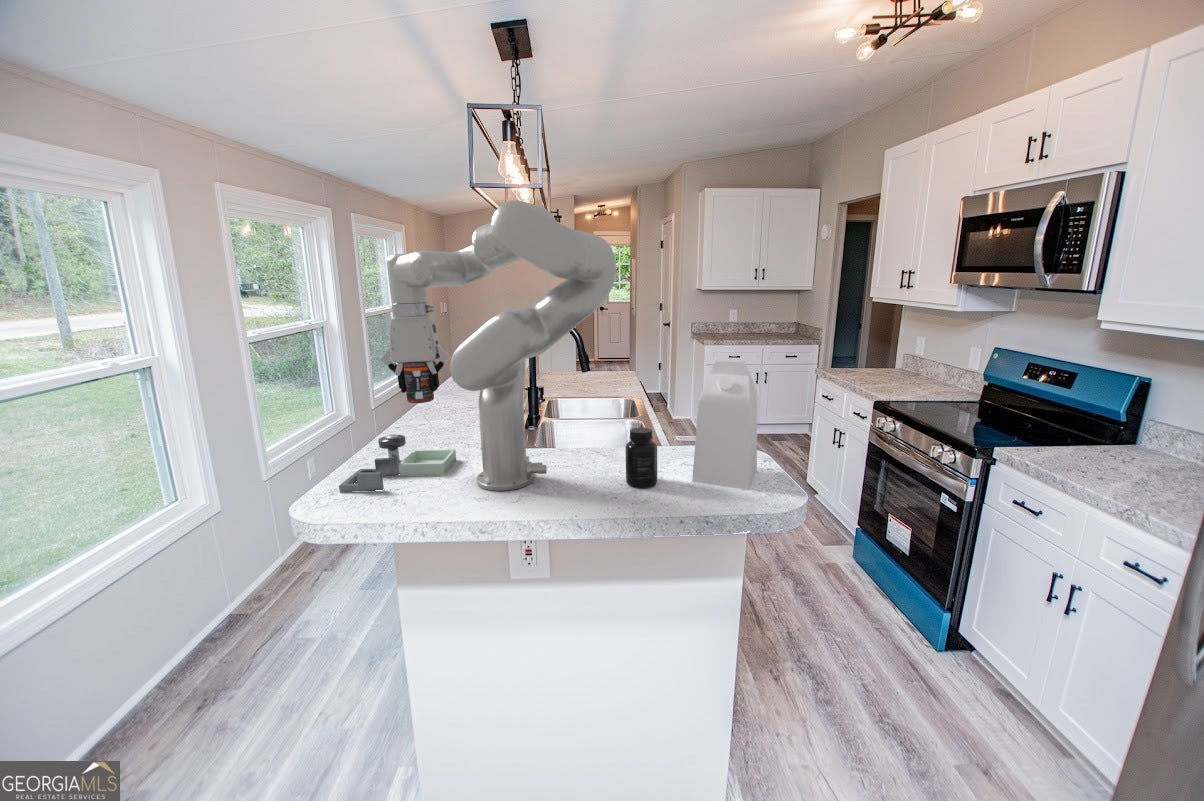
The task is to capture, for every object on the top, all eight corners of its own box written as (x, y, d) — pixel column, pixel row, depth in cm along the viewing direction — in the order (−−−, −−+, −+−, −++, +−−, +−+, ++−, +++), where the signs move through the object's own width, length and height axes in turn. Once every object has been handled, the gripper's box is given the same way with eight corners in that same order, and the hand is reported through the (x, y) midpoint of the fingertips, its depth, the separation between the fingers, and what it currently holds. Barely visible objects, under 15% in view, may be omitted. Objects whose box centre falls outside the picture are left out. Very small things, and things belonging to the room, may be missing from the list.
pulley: (411, 461, 126) (408, 432, 124) (402, 469, 120) (399, 439, 118) (387, 461, 126) (384, 432, 124) (377, 470, 120) (373, 440, 118)
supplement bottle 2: (661, 479, 111) (662, 427, 109) (651, 491, 105) (651, 436, 103) (632, 475, 114) (632, 424, 111) (620, 486, 108) (620, 432, 105)
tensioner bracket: (399, 474, 117) (398, 457, 116) (382, 491, 107) (379, 473, 106) (361, 474, 117) (359, 458, 116) (339, 492, 107) (337, 474, 106)
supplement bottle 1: (426, 404, 113) (420, 354, 111) (402, 404, 114) (396, 354, 112) (439, 398, 119) (434, 350, 117) (416, 398, 120) (410, 351, 118)
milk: (756, 471, 115) (763, 358, 109) (748, 490, 105) (755, 366, 99) (704, 464, 120) (708, 356, 114) (692, 481, 110) (695, 363, 104)
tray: (456, 460, 126) (455, 449, 125) (444, 475, 116) (443, 463, 115) (415, 460, 126) (414, 450, 125) (399, 475, 116) (398, 464, 115)
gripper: (454, 309, 116) (461, 386, 120) (378, 312, 116) (388, 389, 120) (445, 311, 109) (453, 392, 113) (364, 314, 108) (375, 395, 112)
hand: (419, 390), depth 116 cm, fingers closed on supplement bottle 1, 6 cm apart
